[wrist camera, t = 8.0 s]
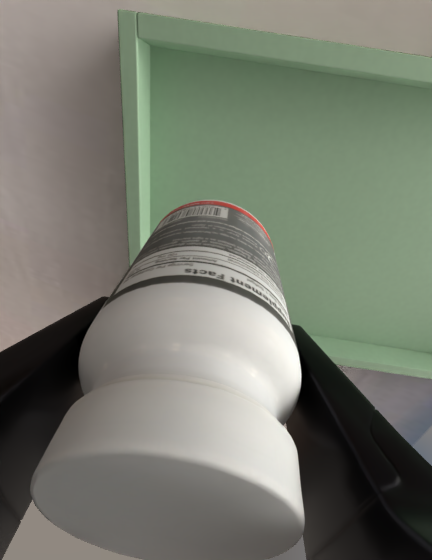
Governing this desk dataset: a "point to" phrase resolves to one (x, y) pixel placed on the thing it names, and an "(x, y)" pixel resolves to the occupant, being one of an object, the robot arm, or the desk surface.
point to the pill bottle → (184, 402)
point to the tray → (294, 169)
